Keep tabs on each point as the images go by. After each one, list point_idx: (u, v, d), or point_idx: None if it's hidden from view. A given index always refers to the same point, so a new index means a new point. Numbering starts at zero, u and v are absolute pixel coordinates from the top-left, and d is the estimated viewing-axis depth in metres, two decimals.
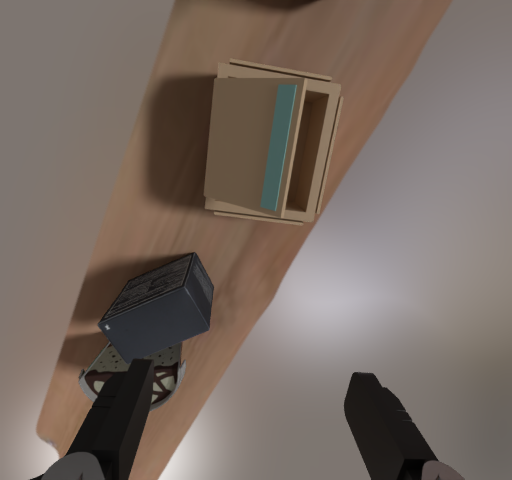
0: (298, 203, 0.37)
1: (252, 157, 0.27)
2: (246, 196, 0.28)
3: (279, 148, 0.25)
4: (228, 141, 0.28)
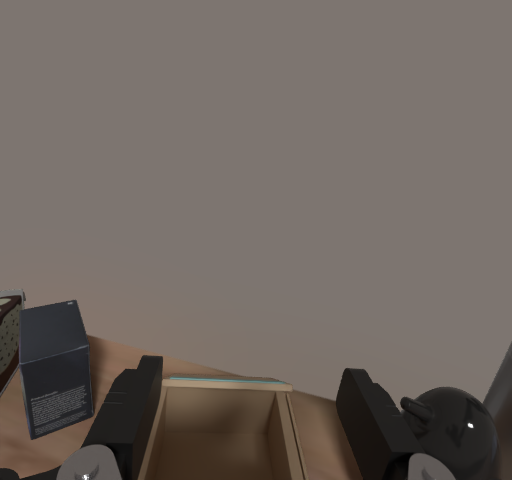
0: None
1: (217, 378, 0.29)
2: None
3: None
4: (225, 377, 0.32)
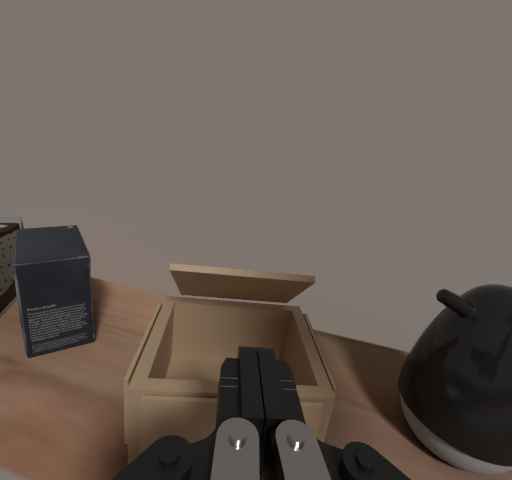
0: None
1: None
2: None
3: None
4: None
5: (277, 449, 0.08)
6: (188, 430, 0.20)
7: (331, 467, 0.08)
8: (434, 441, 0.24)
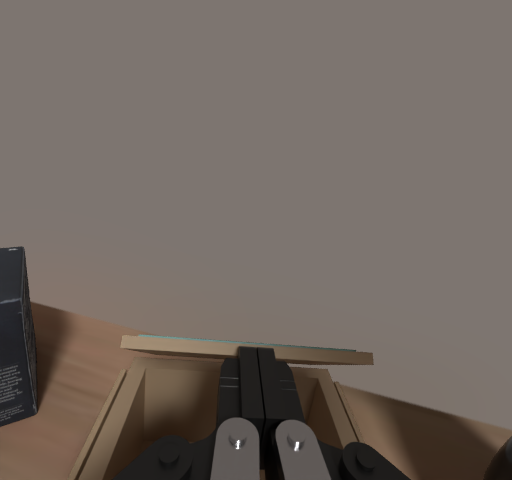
0: None
1: None
2: None
3: None
4: None
5: (277, 449, 0.08)
6: None
7: (331, 467, 0.08)
8: None
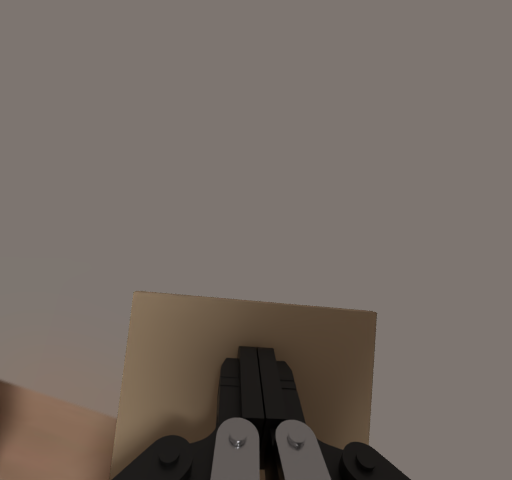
0: None
1: None
2: None
3: None
4: None
5: (277, 449, 0.08)
6: None
7: (331, 467, 0.08)
8: None
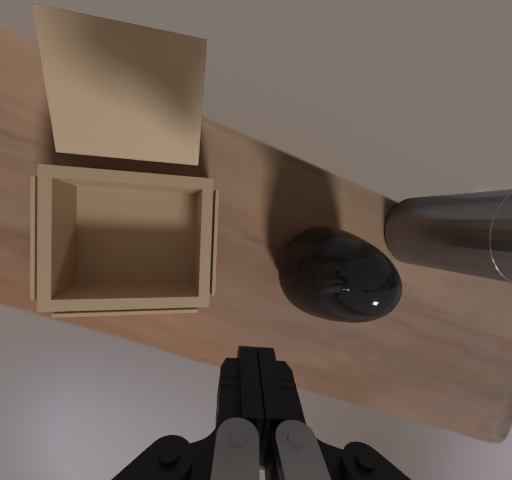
0: (70, 288, 0.29)
1: None
2: None
3: None
4: None
5: (277, 449, 0.08)
6: None
7: (331, 467, 0.08)
8: None
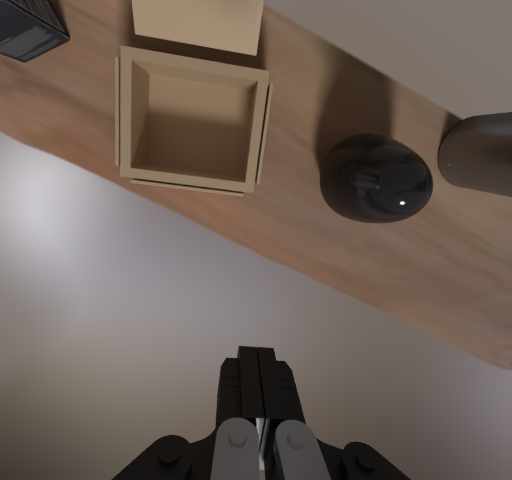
0: (143, 165, 0.35)
1: None
2: None
3: None
4: None
5: (277, 449, 0.08)
6: None
7: (331, 467, 0.08)
8: None
